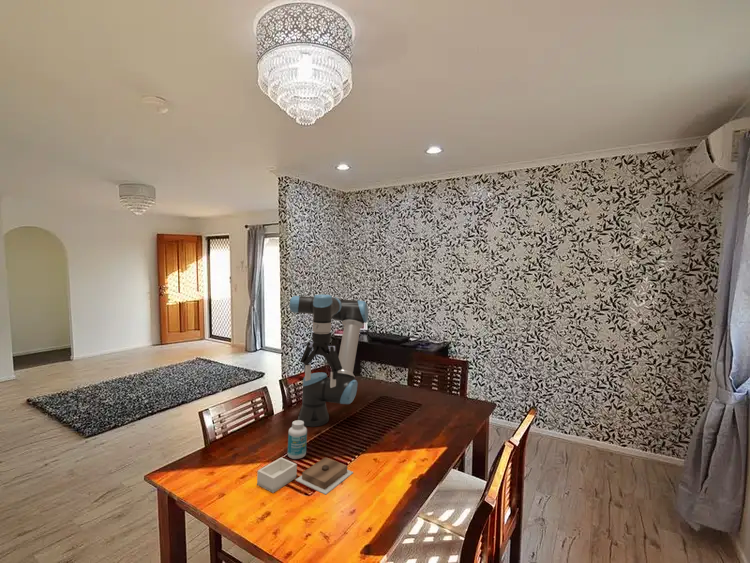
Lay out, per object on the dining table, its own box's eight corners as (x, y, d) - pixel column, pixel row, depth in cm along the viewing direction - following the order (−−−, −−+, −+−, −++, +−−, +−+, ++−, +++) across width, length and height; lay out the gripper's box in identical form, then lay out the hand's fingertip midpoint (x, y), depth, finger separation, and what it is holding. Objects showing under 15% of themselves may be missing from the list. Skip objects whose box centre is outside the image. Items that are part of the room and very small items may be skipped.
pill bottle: (290, 461, 141) (291, 427, 141) (285, 452, 148) (286, 420, 147) (308, 457, 145) (309, 424, 144) (303, 449, 151) (304, 417, 151)
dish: (257, 484, 126) (257, 470, 125) (280, 470, 135) (281, 457, 135) (273, 493, 121) (273, 478, 121) (296, 477, 131) (296, 464, 131)
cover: (301, 479, 129) (302, 470, 129) (325, 463, 140) (325, 454, 140) (324, 489, 124) (324, 480, 124) (347, 472, 135) (347, 463, 135)
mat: (295, 480, 129) (295, 479, 129) (324, 461, 142) (324, 460, 142) (325, 494, 122) (325, 493, 121) (353, 473, 135) (353, 471, 135)
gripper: (293, 329, 151) (291, 379, 152) (340, 337, 138) (338, 392, 139) (305, 327, 158) (304, 375, 158) (351, 335, 144) (349, 387, 145)
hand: (320, 383), depth 149 cm, fingers open, 13 cm apart
